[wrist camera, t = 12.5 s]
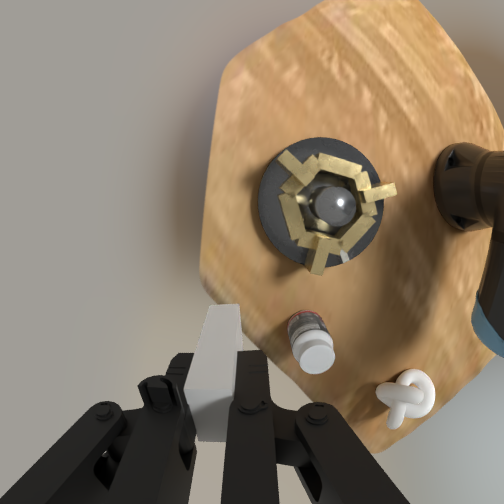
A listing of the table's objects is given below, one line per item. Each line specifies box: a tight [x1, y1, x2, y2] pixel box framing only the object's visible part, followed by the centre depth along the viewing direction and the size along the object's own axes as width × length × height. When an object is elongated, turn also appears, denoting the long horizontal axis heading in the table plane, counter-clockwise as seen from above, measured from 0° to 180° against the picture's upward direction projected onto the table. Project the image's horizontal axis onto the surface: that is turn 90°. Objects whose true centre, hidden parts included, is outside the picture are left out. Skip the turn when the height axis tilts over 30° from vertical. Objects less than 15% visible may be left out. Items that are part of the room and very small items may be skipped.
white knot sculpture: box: [376, 369, 435, 429], centre depth 43 cm, size 11×12×9 cm
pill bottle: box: [287, 310, 335, 374], centre depth 39 cm, size 6×6×10 cm
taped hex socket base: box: [275, 149, 397, 276], centre depth 35 cm, size 15×16×4 cm
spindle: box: [308, 186, 356, 227], centre depth 35 cm, size 5×5×8 cm
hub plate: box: [258, 137, 384, 267], centre depth 38 cm, size 18×18×2 cm
